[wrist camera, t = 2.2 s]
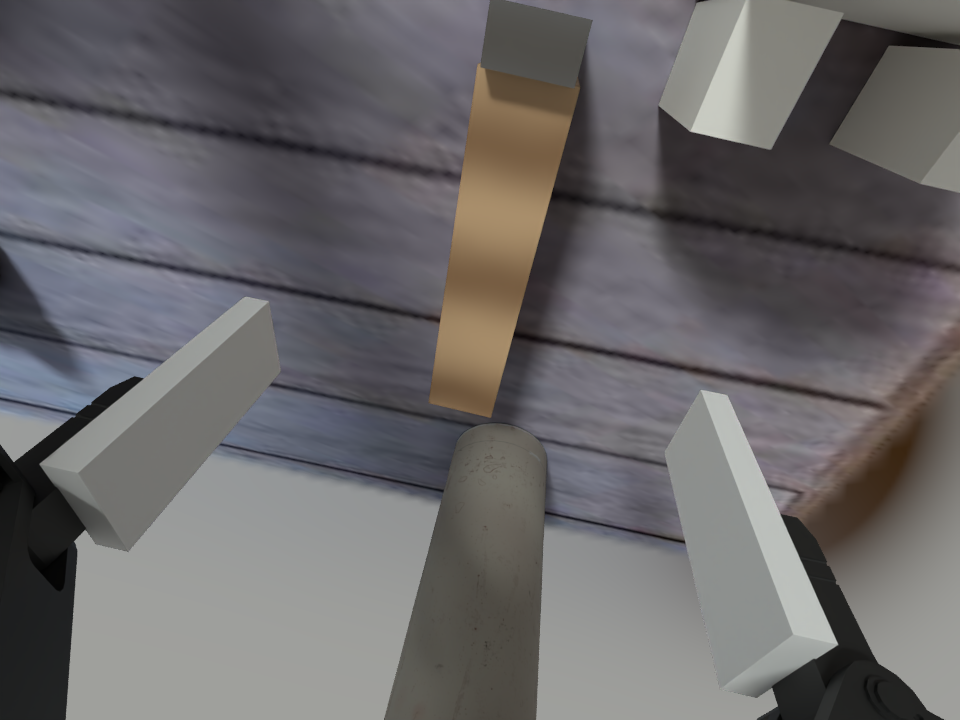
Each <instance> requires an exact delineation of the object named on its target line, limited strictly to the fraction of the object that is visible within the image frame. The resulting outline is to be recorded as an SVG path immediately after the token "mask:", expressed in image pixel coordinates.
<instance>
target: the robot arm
mask: <svg viewBox="0 0 960 720" xmlns="http://www.w3.org/2000/svg"><path fill="white" fill-rule="evenodd" d="M280 372H281V369H280V363H279V357H278V351H277V346H276V340H275V334H274V328H273V322H272V316H271V311H270V305H269V301H264V300H259V299H254V298H250V297H244V298H242V299H241V300H240V301H239V302H238V303H236V304H235V305H234V306H233V307H231V308H230V309H229V310H228V311H226V312H225V313H224V314H223V315H222V316H220V317H219V318H218V319H217V320H215V321H214V322H213V323H212V324H211V325H209V326H208V327H207V328H206V329H204V330H203V331H202V332H201V333H199V334H198V335H197V336H196V337H195V338H193V339H192V340H191V341H190V342H188V343H187V344H186V345H185V346H184V347H182V348H181V349H180V350H179V351H177V352H176V353H175V354H174V355H172V356H171V357H170V358H169V359H168V360H166V361H165V362H164V363H163V364H161V365H160V366H159V367H158V368H157V369H155V370H154V371H153V372H152V373H150V374H149V375H148V376H147V377H146V378H139V377H135V376H134V377H132V378H130V379H128V380H126V381H123V382H121V383H119V384H117V385H115V386H113V387H110V388H109V389H108V390H107V391H105V392H104V393H103V394H101V395H100V396H99V397H98V398H96V399H95V400H94V401H92V402H91V403H92V404H91V405H87V406H86V407H85V408H83V409H82V410H81V411H79V412H78V413H77V414H76V417H75V418H73V417H72V418H70V419H69V420H68V421H67V422H65V423H64V424H63V425H61V426H60V427H59V428H57V429H56V430H55V431H54V432H52V433H51V434H50V435H48V436H47V437H46V438H45V439H43V440H42V441H41V442H39V443H38V444H37V445H36V446H34V447H33V448H32V449H30V450H29V451H28V452H26V453H25V454H24V455H23V456H21V457H20V458H19V459H17V460H16V461H15V462H13V461H12V460H11V458H10V457H9V456H8V454H7V453H6V452H5V450H4V449H3V448H2V446H1V445H0V720H65V719H66V706H67V692H68V678H69V663H70V650H71V636H72V622H73V607H74V591H75V579H76V565H77V548H76V544H75V543H74V541H75V540H76V539H77V537H78V536H79V535H80V534H81V533H82V532H83V531H84V530H86V531H87V532H88V534H89V535H90V537H91V538H92V539H93V541H94V542H95V544H97V545H102V546H106V547H111V548H115V549H119V550H123V551H127V552H128V551H129V550H130V549H131V548H132V547H133V546H134V544H135V543H136V542H137V541H138V540H139V539H140V537H141V536H142V535H143V534H144V533H145V531H146V530H147V529H148V528H149V527H150V526H151V524H152V523H153V522H154V521H155V520H156V518H157V517H158V516H159V515H160V514H161V513H162V511H163V510H164V509H165V508H166V507H167V505H168V504H169V503H170V502H171V501H172V500H173V498H174V497H175V496H176V495H177V493H178V492H179V491H180V490H181V489H182V488H183V487H184V485H185V484H186V483H187V482H188V481H189V479H190V478H191V477H192V476H193V475H194V474H195V472H196V471H197V470H198V469H199V468H200V467H201V465H202V464H203V463H204V462H205V461H206V459H207V458H208V457H209V456H210V455H211V454H212V452H213V451H214V450H215V449H216V448H217V446H218V445H219V444H220V443H221V442H222V441H223V439H224V438H225V437H226V436H227V435H228V433H229V432H230V431H231V430H232V429H233V428H234V426H235V425H236V424H237V423H238V422H239V420H240V419H241V418H242V417H243V416H244V415H245V413H246V412H247V411H248V410H249V409H250V407H251V406H252V405H253V404H254V403H255V402H256V400H257V399H258V398H259V397H260V396H261V394H262V393H263V392H264V391H265V390H266V389H267V387H268V386H269V385H270V384H271V383H272V381H273V380H274V379H275V378H276V377H277V376H278V374H279V373H280ZM664 453H665V458H666V462H667V466H668V470H669V475H670V479H671V483H672V487H673V492H674V496H675V500H676V504H677V509H678V513H679V517H680V522H681V526H682V530H683V534H684V539H685V543H686V547H687V551H688V556H689V560H690V564H691V568H692V572H693V577H694V581H695V586H696V590H697V594H698V598H699V603H700V607H701V611H702V615H703V620H704V624H705V628H706V632H707V637H708V641H709V645H710V649H711V654H712V658H713V662H714V667H715V671H716V675H717V679H718V684H719V688H720V689H721V690H725V691H729V692H734V693H738V694H742V695H746V696H751V697H755V698H757V697H759V696H760V695H762V694H763V693H765V692H766V691H768V690H769V689H771V688H773V692H774V695H775V698H776V701H777V704H778V707H776V708H774V709H773V710H771V711H769V712H768V713H766V714H764V715H763V716H761V717H759V718H758V719H757V720H944V719H941V718H940V717H938V716H936V715H934V714H933V713H931V712H929V711H927V710H926V708H925V707H924V705H923V704H922V702H921V701H920V700H919V698H918V697H917V696H916V694H915V693H914V692H913V690H912V689H910V687H908V686H907V685H906V684H905V683H904V682H903V681H902V680H901V679H900V678H899V677H898V676H897V675H895V674H894V673H892V672H891V671H889V670H888V669H886V668H884V667H883V666H881V665H879V664H878V662H877V661H876V659H875V657H874V655H873V654H872V652H871V650H870V648H869V646H868V643H867V642H866V639H865V637H864V635H863V633H862V631H861V629H860V627H859V625H858V623H857V621H856V619H855V617H854V615H853V613H852V611H851V609H850V607H849V605H848V603H847V601H846V599H845V597H844V595H843V593H842V591H841V589H840V587H839V585H836V579H835V577H834V575H833V573H832V571H831V569H830V567H829V566H827V564H826V562H827V561H826V559H825V556H824V554H823V552H822V550H821V548H820V547H819V544H818V542H817V540H816V539H815V538H814V536H813V535H812V534H811V533H810V532H809V531H808V529H807V528H806V527H805V526H804V525H803V524H802V522H801V521H800V520H799V519H798V518H796V517H792V516H787V515H782V514H780V513H779V511H778V508H777V506H776V504H775V502H774V499H773V497H772V495H771V493H770V490H769V488H768V486H767V484H766V481H765V479H764V477H763V475H762V472H761V470H760V468H759V466H758V463H757V461H756V459H755V457H754V454H753V452H752V450H751V448H750V446H749V443H748V441H747V439H746V437H745V434H744V432H743V430H742V428H741V425H740V423H739V421H738V419H737V416H736V414H735V412H734V410H733V407H732V405H731V403H730V401H729V398H728V396H727V395H724V394H719V393H714V392H709V391H704V390H700V392H699V394H698V395H697V397H696V399H695V401H694V402H693V404H692V406H691V407H690V409H689V411H688V413H687V414H686V416H685V418H684V420H683V421H682V423H681V425H680V426H679V428H678V430H677V432H676V433H675V435H674V437H673V438H672V440H671V442H670V444H669V445H668V447H667V449H666V451H665V452H664Z"/></svg>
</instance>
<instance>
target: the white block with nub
mask: <svg viewBox="0 0 960 720" xmlns="http://www.w3.org/2000/svg"><path fill="white" fill-rule="evenodd" d="M841 19H844V20H848V21H853V22H857V23H862V24H866V25H871V26H875V27H880V28H884V29H889V30H893V31H897V32H902V33H906V34H911V35H915V36H920V37H924V38H929V39H933V40H938V41H942V42H947V43H951V44H956V45H960V0H708V1H703V2H698V3H696V6H695V9H694V11H693V14H692V17H691V19H690V22H689V25H688V28H687V30H686V33H685V36H684V38H683V41H682V44H681V46H680V49H679V52H678V54H677V57H676V60H675V62H674V65H673V68H672V71H671V73H670V76H669V79H668V81H667V84H666V87H665V89H664V92H663V95H662V97H661V100H660V103H659V105H658V106H660V107H661V108H662V109H663V110H664V111H666V112H667V113H668V114H669V115H671V116H672V117H673V118H674V119H676V120H677V121H678V122H679V123H680V124H682V125H683V126H684V127H685V128H687V129H688V130H689V131H690V132H694V133H699V134H703V135H708V136H712V137H716V138H721V139H725V140H730V141H734V142H738V143H743V144H747V145H752V146H756V147H760V148H765V149H769V150H771V149H772V147H773V145H774V143H775V141H776V139H777V138H778V136H779V134H780V132H781V130H782V128H783V126H784V125H785V123H786V121H787V119H788V117H789V115H790V113H791V112H792V110H793V108H794V106H795V104H796V102H797V100H798V99H799V97H800V95H801V93H802V91H803V89H804V87H805V86H806V84H807V82H808V80H809V78H810V76H811V74H812V73H813V71H814V69H815V67H816V65H817V63H818V61H819V60H820V58H821V56H822V54H823V52H824V50H825V48H826V46H827V45H828V43H829V41H830V39H831V37H832V35H833V33H834V32H835V30H836V28H837V26H838V24H839V22H840V20H841ZM829 145H832V146H834V147H836V148H839V149H841V150H843V151H846V152H848V153H850V154H852V155H855V156H857V157H859V158H862V159H864V160H866V161H869V162H871V163H873V164H875V165H878V166H880V167H882V168H885V169H887V170H889V171H892V172H894V173H896V174H898V175H901V176H903V177H905V178H908V179H910V180H912V181H914V182H917V183H919V184H923V185H927V186H932V187H936V188H941V189H945V190H949V191H954V192H958V193H960V49H946V48H926V47H907V46H888V48H887V50H886V51H885V53H884V55H883V56H882V58H881V60H880V61H879V63H878V64H877V66H876V68H875V69H874V71H873V73H872V74H871V76H870V78H869V79H868V81H867V83H866V84H865V86H864V87H863V89H862V91H861V92H860V94H859V96H858V97H857V99H856V101H855V102H854V104H853V106H852V107H851V109H850V110H849V112H848V114H847V115H846V117H845V119H844V120H843V122H842V124H841V125H840V127H839V129H838V130H837V132H836V133H835V135H834V137H833V138H832V140H831V142H830V143H829Z"/></svg>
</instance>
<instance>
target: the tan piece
mask: <svg viewBox="0 0 960 720" xmlns="http://www.w3.org/2000/svg"><path fill="white" fill-rule="evenodd" d="M592 21H593V20H590V19H586V18H581V17H577V16H572V15H568V14H563V13H559V12H554V11H550V10H545V9H541V8H537V7H532V6H528V5H523V4H519V3H514V2H510V1H505V0H490V4H489V11H488V18H487V25H486V31H485V38H484V45H483V52H482V58H481V63H479V64H478V66H477V73H476V79H475V86H474V93H473V100H472V107H471V114H470V121H469V128H468V134H467V141H466V148H465V155H464V162H463V169H462V176H461V183H460V190H459V196H458V203H457V210H456V217H455V224H454V231H453V238H452V245H451V251H450V258H449V265H448V272H447V279H446V286H445V293H444V300H443V306H442V313H441V320H440V327H439V334H438V341H437V348H436V355H435V362H434V368H433V375H432V382H431V389H430V396H429V403H431V404H435V405H439V406H443V407H447V408H452V409H456V410H460V411H464V412H468V413H473V414H477V415H481V416H485V417H489V418H491V415H492V411H493V408H494V404H495V400H496V397H497V393H498V389H499V385H500V382H501V378H502V374H503V371H504V367H505V363H506V360H507V356H508V352H509V349H510V345H511V341H512V338H513V334H514V330H515V327H516V323H517V319H518V315H519V312H520V308H521V304H522V301H523V297H524V293H525V290H526V286H527V282H528V279H529V275H530V271H531V268H532V264H533V260H534V257H535V253H536V249H537V245H538V242H539V238H540V234H541V231H542V227H543V223H544V220H545V216H546V212H547V209H548V205H549V201H550V198H551V194H552V190H553V187H554V183H555V179H556V176H557V172H558V168H559V164H560V161H561V157H562V153H563V150H564V146H565V142H566V139H567V135H568V131H569V128H570V124H571V120H572V117H573V113H574V109H575V106H576V102H577V98H578V94H579V91H580V84H579V80H578V73H579V70H580V66H581V62H582V58H583V55H584V51H585V47H586V43H587V39H588V36H589V32H590V28H591V24H592Z"/></svg>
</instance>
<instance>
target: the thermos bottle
mask: <svg viewBox="0 0 960 720" xmlns="http://www.w3.org/2000/svg"><path fill="white" fill-rule="evenodd" d="M546 470H547V457H546V452H545V450H544V448H543V446H542V444H541V443H540V442H539V440H538V439H536V438H535V437H534V436H533V435H532V434H530V433H529V432H527V431H525V430H523V429H521V428H519V427H516V426H512V425H508V424H502V423H487V424H482V425H478V426H475V427H472V428H471V429H469V430H467V431H466V432H465V433H463V434H462V435H461V436H460V438H459V439H458V441H457V443H456V447H455V450H454V454H453V457H452V461H451V465H450V469H449V473H448V478H447V482H446V486H445V489H444V493H443V497H442V500H441V504H440V508H439V512H438V516H437V519H436V523H435V527H434V531H433V535H432V539H431V543H430V547H429V551H428V555H427V558H426V562H425V566H424V570H423V573H422V577H421V581H420V585H419V589H418V592H417V596H416V600H415V604H414V607H413V611H412V615H411V619H410V622H409V627H408V630H407V634H406V638H405V642H404V646H403V649H402V653H401V657H400V661H399V665H398V668H397V672H396V676H395V680H394V684H393V688H392V691H391V695H390V699H389V703H388V707H387V711H386V714H385V718H384V720H536V708H537V686H538V662H539V637H540V613H541V590H542V560H543V537H544V518H545V494H546Z"/></svg>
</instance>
